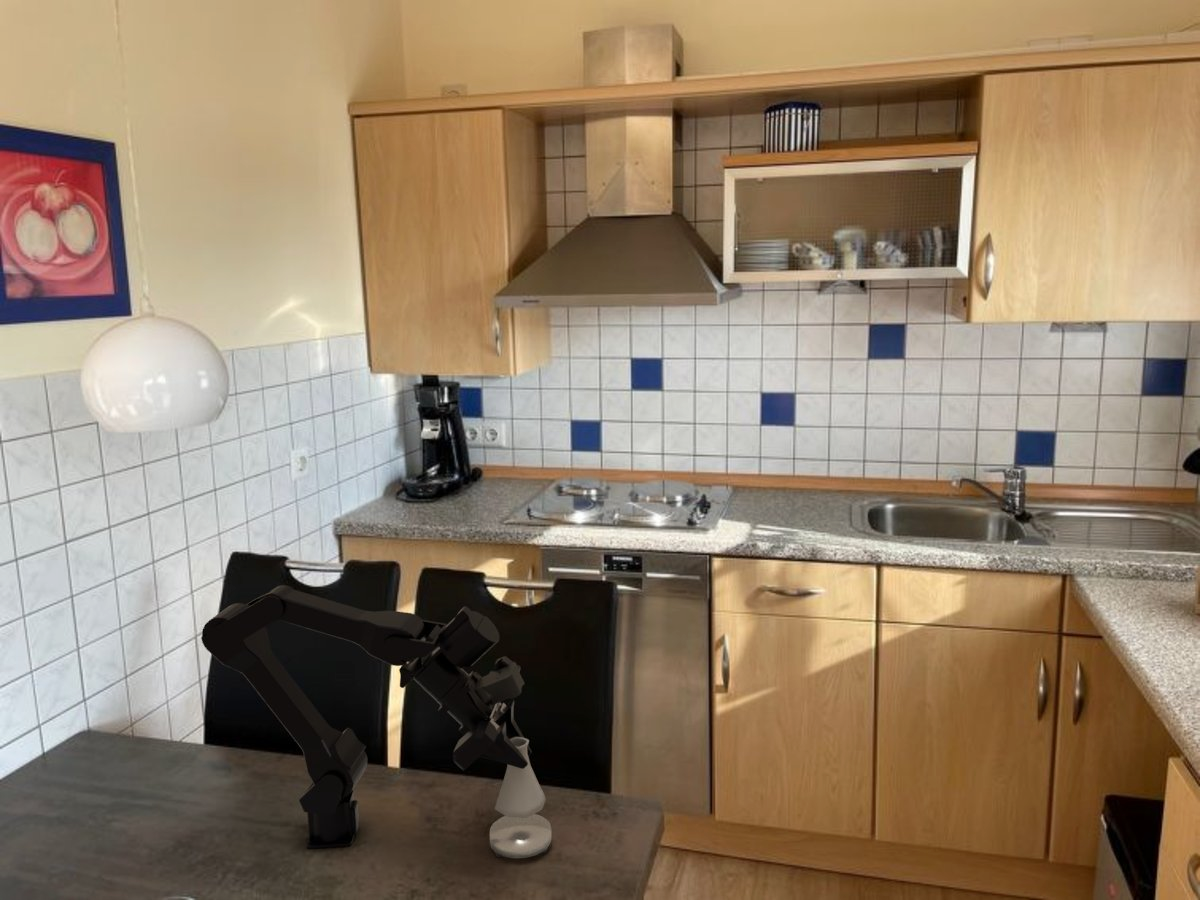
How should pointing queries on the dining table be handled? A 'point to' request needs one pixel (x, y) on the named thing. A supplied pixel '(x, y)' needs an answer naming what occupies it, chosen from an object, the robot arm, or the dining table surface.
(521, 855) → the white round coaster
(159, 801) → the dining table surface
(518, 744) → the flask
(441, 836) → the dining table surface
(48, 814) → the dining table surface
